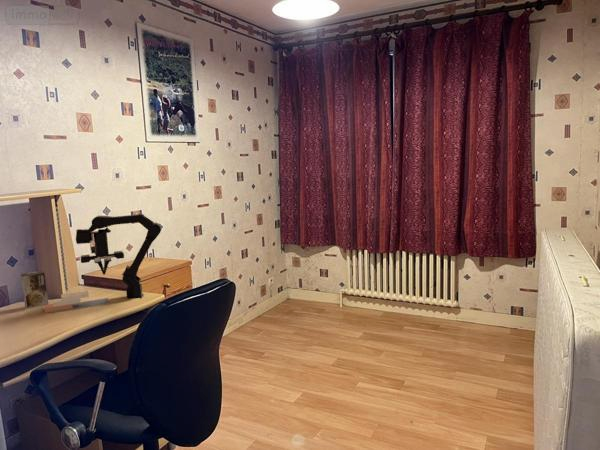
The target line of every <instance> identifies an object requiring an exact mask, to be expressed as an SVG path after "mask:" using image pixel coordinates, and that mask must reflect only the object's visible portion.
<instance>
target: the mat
mask: <svg viewBox="0 0 600 450" xmlns="http://www.w3.org/2000/svg"><path fill="white" fill-rule="evenodd" d="M104 305H111V302H110V300H109V297H104V298H98V299H94V300H93V299H92V300H85V301H81V303H74V304H73V308H70V309H64V310H58V311H52V312H51V314H57V313H61V312H62V313H63V312H69V311H74V310H80V309H86V308H87V309H88V308H93V307H94V308H95V307H98V306H104Z"/></svg>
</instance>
